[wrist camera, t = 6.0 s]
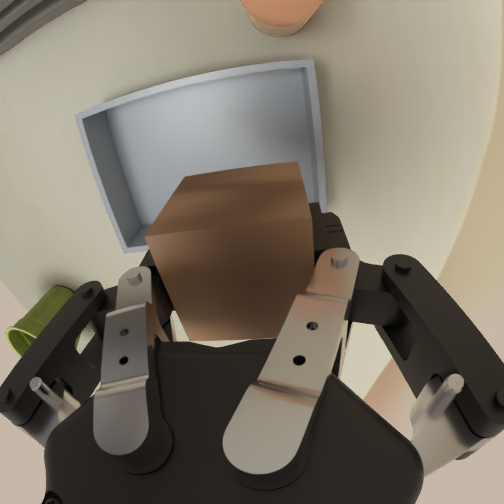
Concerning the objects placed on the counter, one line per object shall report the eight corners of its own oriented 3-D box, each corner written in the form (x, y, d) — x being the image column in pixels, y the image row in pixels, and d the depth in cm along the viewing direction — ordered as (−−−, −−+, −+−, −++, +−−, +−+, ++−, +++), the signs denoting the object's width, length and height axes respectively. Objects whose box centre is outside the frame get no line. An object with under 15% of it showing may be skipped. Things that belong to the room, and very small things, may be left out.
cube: (209, 265, 16) (189, 340, 12) (184, 176, 13) (144, 236, 9) (306, 256, 15) (316, 334, 11) (298, 161, 12) (311, 217, 8)
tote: (141, 228, 32) (124, 253, 28) (101, 104, 24) (74, 114, 20) (320, 206, 29) (327, 232, 25) (306, 60, 21) (313, 58, 17)
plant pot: (71, 331, 45) (45, 381, 36) (29, 281, 39) (-6, 330, 29) (115, 323, 42) (89, 383, 33) (68, 265, 36) (28, 324, 27)
